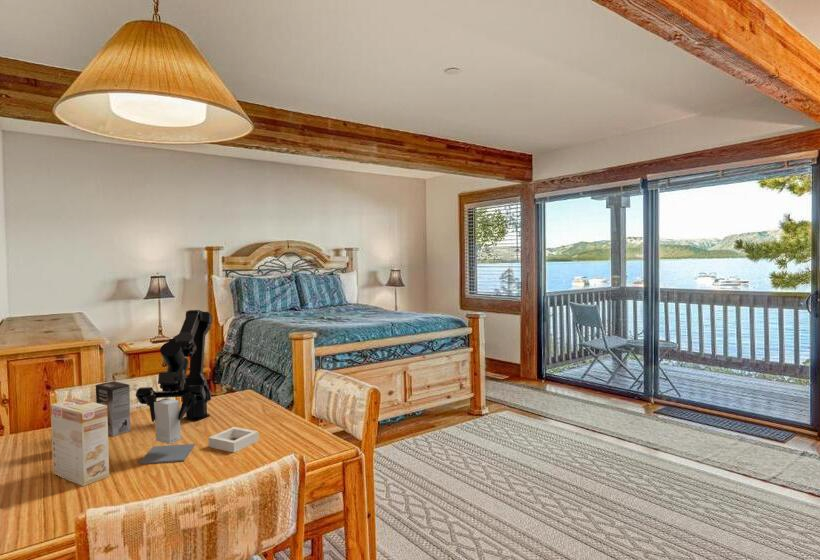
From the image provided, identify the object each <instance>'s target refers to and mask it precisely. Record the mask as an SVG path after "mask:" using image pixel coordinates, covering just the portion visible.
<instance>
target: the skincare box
mask: <svg viewBox="0 0 820 560" xmlns="http://www.w3.org/2000/svg"><path fill="white" fill-rule="evenodd" d="M180 409H181V406H180V400H177V399H176V400H175V399H169V398H167V397H166V398H161V399H159V400H156V402H154V412H155V420H154V425H155V441H156V442H160V443H164V444H167V445H173V444H174V443H177V442H179V441H181V440H182V431H181V429H182V428H181V420H179V419H178V418H179V412H180Z"/></svg>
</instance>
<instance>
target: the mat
mask: <svg viewBox="0 0 820 560" xmlns="http://www.w3.org/2000/svg"><path fill="white" fill-rule="evenodd" d="M195 445H196V444H195V443H189V444H186V443H185V444H168V445H155V446H152V448H151V449H150V450H148V452H147V453H146V455H144V456H143V457H142V459H141V460H139V462H138V465H150V464H165V463H167V464H168V463H181V462H184V461H185V460H186V459H187V458H188V456H189V455H190V453H191V452H192V451H193V449H194V448H195Z"/></svg>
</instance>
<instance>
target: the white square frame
mask: <svg viewBox="0 0 820 560" xmlns="http://www.w3.org/2000/svg"><path fill="white" fill-rule="evenodd" d="M233 439H235V440H233ZM259 440H260V439H259V431H257V430H251V429H247V428H242V427H238V426H237V427H236V426H233V427H230V428H228V429H225V430H223V431H221V432H218V433H216V434H213V435H211V436H209V437H208V447H209V448H211V449H215V450H221V451H225V452H229V453H234V454H235V453H237V452H238V451H240V450H243V449H245V448H247V447H248V446H252V445H253V444H255V443H257V442H259Z"/></svg>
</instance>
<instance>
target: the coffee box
mask: <svg viewBox="0 0 820 560" xmlns="http://www.w3.org/2000/svg"><path fill="white" fill-rule="evenodd" d="M130 391H131V389H130V384H128V383H123V382H119V381H115V380H114V381H108V382H102V383H98V384H96V385H95V401H96V402H95V403H98V404H103V405H107V416H108V436H110V437H116V436H118V435H122V434H124V433H127V432H131V393H130Z"/></svg>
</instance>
